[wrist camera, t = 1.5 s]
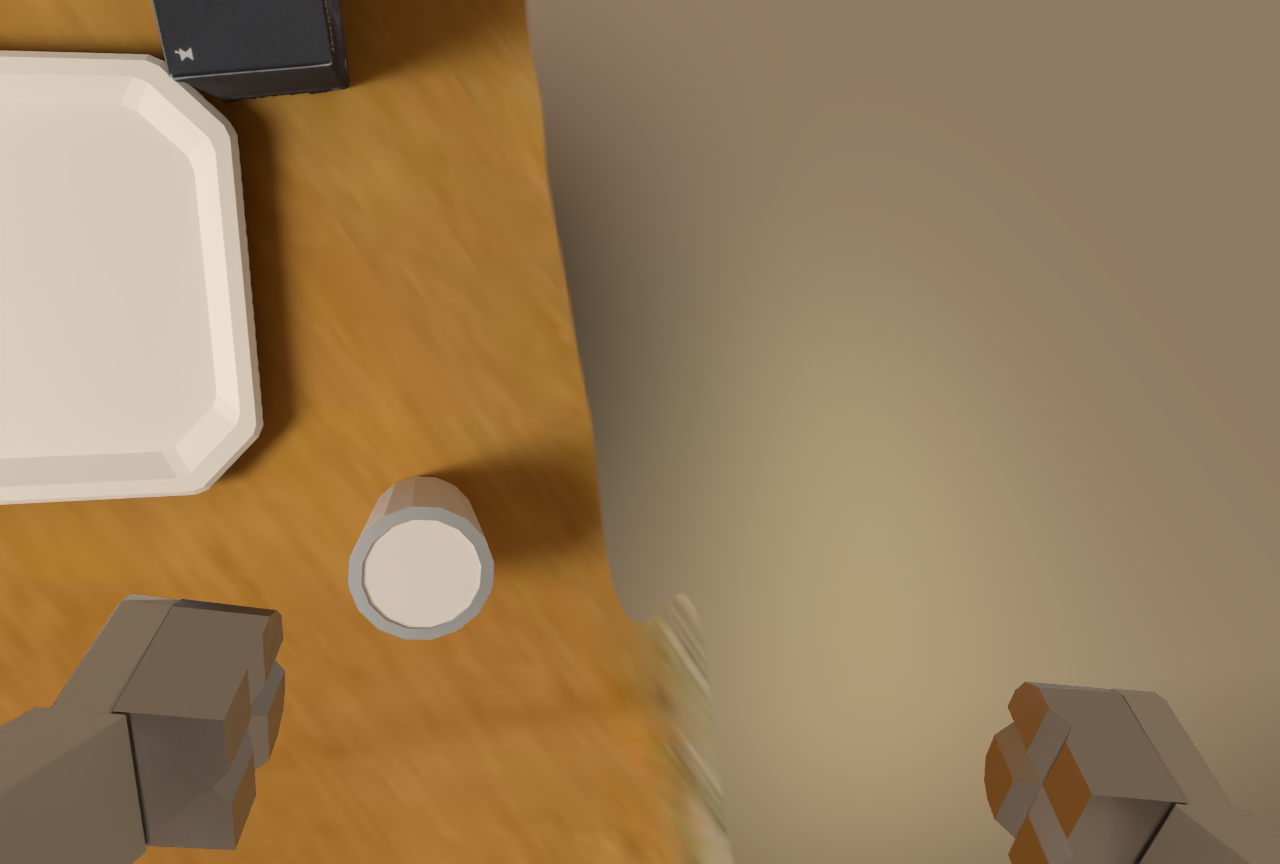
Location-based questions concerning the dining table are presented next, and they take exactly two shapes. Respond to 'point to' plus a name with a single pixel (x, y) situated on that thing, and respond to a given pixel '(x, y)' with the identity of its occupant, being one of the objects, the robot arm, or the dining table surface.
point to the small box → (254, 46)
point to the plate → (120, 283)
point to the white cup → (421, 561)
